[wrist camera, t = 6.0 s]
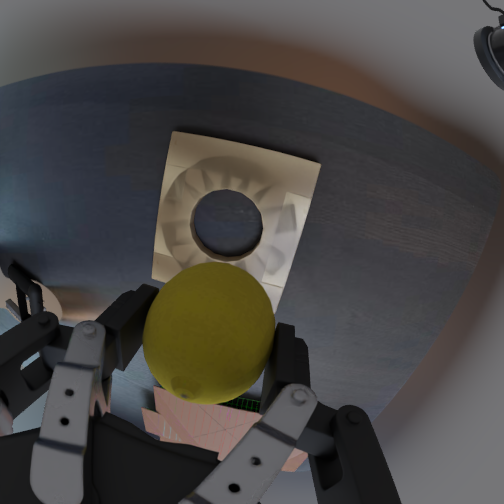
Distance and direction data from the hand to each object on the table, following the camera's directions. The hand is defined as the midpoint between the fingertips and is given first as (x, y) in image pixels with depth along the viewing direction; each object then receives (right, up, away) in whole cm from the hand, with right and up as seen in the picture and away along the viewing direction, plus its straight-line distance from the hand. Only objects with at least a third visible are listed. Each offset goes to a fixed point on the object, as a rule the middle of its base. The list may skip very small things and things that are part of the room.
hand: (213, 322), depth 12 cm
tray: (-1, +6, +19) cm, 20 cm away
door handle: (-46, -9, +30) cm, 56 cm away
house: (-2, -31, +33) cm, 45 cm away
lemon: (+1, +1, +3) cm, 4 cm away
